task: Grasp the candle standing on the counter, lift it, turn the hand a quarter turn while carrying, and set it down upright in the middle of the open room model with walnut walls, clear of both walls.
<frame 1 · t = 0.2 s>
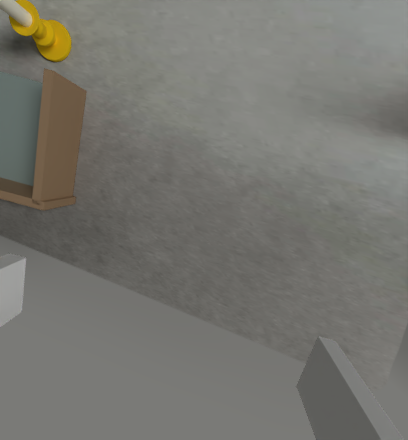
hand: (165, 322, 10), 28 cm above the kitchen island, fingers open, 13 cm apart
candle: (55, 43, 33), on the kitchen island
open room model: (33, 135, 36), on the kitchen island
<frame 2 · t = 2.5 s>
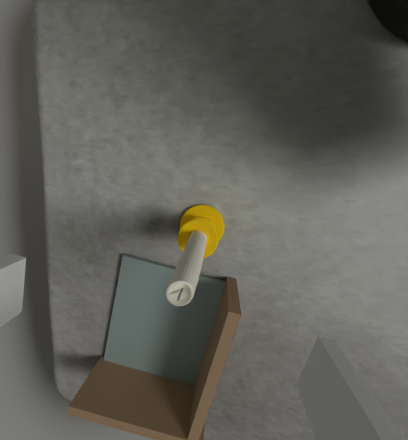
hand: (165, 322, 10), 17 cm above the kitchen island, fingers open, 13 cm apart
candle: (202, 225, 27), on the kitchen island
open room model: (161, 321, 30), on the kitchen island
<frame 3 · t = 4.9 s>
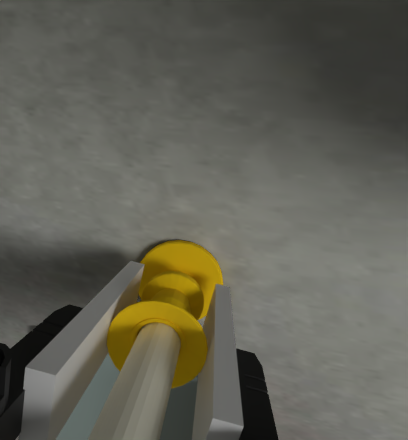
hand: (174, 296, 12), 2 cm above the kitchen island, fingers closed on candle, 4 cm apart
candle: (180, 278, 14), on the kitchen island, touching gripper
open room model: (112, 438, 17), on the kitchen island
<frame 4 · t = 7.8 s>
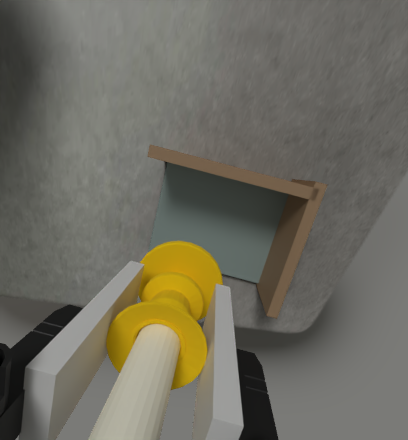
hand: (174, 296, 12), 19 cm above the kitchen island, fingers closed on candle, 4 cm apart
candle: (180, 279, 14), point 17 cm above the kitchen island, touching gripper
open room model: (215, 224, 30), on the kitchen island
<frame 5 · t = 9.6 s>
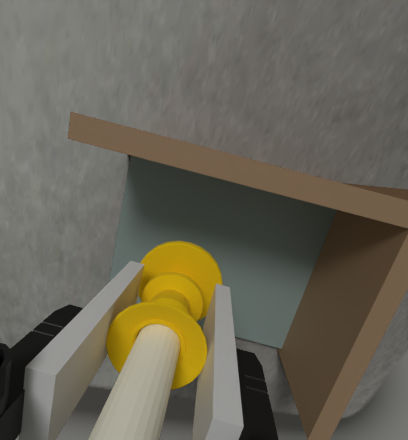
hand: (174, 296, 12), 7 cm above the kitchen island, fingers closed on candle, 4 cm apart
candle: (180, 279, 14), point 5 cm above the kitchen island, touching gripper
open room model: (212, 255, 19), on the kitchen island
when the fingers open (4 cm above the kitchen island, at t = 11.0 s): candle drops 1 cm, resting on open room model.
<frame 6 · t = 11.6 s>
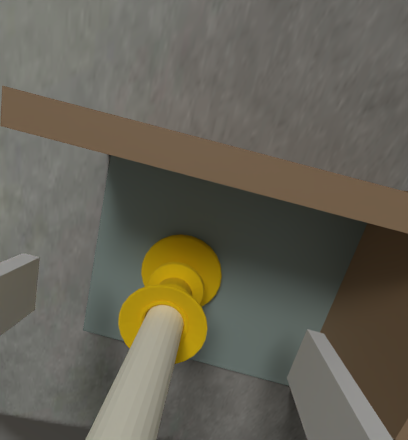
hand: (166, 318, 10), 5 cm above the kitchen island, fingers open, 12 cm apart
candle: (182, 270, 15), resting on open room model
open room model: (212, 275, 15), on the kitchen island
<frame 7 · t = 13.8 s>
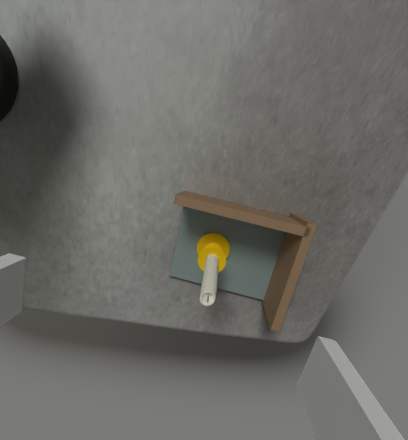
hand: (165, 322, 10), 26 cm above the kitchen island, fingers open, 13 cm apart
candle: (213, 247, 36), resting on open room model
open room model: (225, 250, 36), on the kitchen island
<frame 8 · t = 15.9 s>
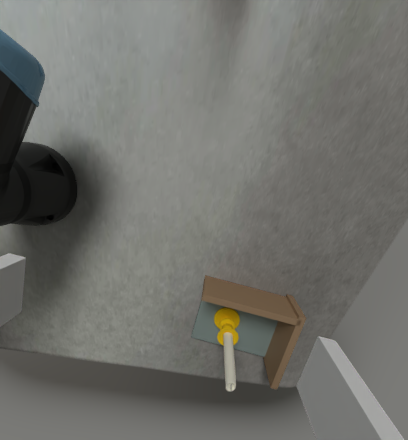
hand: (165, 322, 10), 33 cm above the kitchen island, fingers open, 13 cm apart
candle: (226, 317, 46), resting on open room model
open room model: (236, 319, 46), on the kitchen island
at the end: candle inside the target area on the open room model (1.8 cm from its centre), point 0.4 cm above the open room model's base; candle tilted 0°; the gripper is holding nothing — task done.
